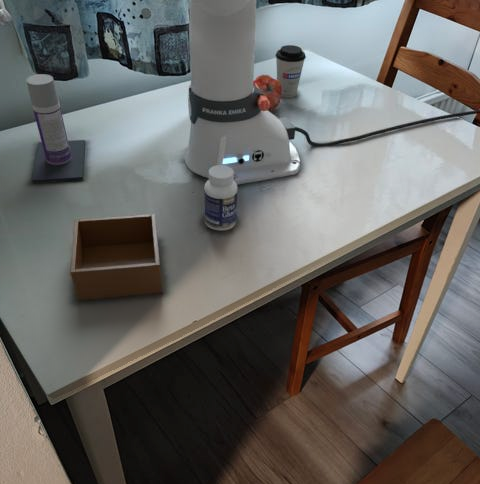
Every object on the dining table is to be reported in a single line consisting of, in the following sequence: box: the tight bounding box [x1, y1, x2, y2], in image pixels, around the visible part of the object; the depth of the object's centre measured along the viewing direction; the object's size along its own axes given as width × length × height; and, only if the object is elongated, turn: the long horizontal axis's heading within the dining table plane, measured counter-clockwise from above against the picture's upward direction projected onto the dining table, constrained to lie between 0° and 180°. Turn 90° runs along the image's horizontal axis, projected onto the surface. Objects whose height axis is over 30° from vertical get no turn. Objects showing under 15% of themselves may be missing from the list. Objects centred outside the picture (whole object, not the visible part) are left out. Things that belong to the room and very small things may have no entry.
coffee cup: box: [275, 44, 307, 98], centre depth 122 cm, size 7×7×10 cm
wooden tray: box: [69, 213, 164, 301], centre depth 78 cm, size 12×12×5 cm
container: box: [25, 73, 71, 165], centre depth 95 cm, size 5×5×15 cm
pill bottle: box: [203, 165, 238, 232], centre depth 86 cm, size 5×5×10 cm
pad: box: [31, 139, 86, 184], centre depth 101 cm, size 9×14×1 cm, turn 10°
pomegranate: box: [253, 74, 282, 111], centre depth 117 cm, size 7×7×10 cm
